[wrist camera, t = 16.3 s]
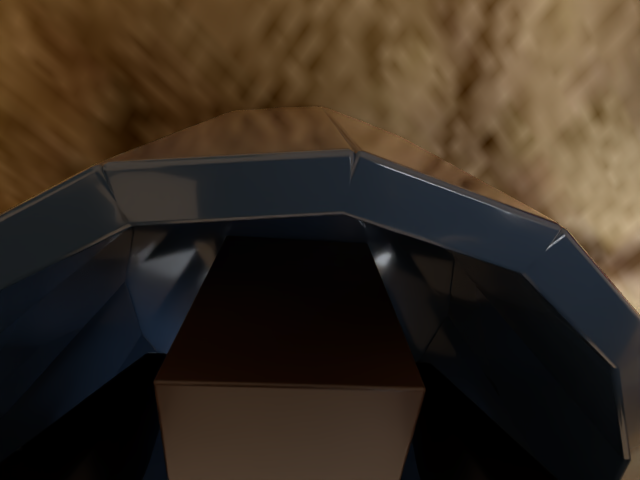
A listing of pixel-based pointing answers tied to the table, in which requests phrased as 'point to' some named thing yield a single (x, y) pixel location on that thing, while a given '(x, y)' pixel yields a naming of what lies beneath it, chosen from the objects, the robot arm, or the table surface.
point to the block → (289, 369)
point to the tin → (332, 226)
